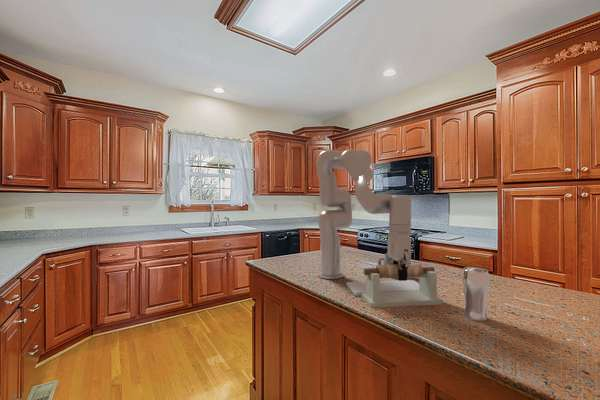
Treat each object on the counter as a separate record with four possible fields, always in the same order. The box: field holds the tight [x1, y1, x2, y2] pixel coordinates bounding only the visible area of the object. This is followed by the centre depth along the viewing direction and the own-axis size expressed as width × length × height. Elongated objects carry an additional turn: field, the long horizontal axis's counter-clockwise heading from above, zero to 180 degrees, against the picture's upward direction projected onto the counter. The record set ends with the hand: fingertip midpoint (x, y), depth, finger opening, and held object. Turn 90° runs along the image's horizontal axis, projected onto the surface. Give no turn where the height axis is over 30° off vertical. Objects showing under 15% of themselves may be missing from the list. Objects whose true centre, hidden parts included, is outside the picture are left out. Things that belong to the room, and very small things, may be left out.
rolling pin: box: [363, 263, 436, 279], centre depth 101 cm, size 26×5×5 cm, turn 95°
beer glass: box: [462, 266, 490, 322], centre depth 87 cm, size 7×7×15 cm
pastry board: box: [345, 279, 419, 297], centre depth 114 cm, size 13×30×1 cm, turn 95°
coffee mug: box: [377, 252, 405, 280], centre depth 134 cm, size 13×10×10 cm
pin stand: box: [361, 271, 443, 308], centre depth 101 cm, size 10×26×11 cm, turn 95°
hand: (399, 277), depth 101 cm, fingers closed on rolling pin, 4 cm apart
